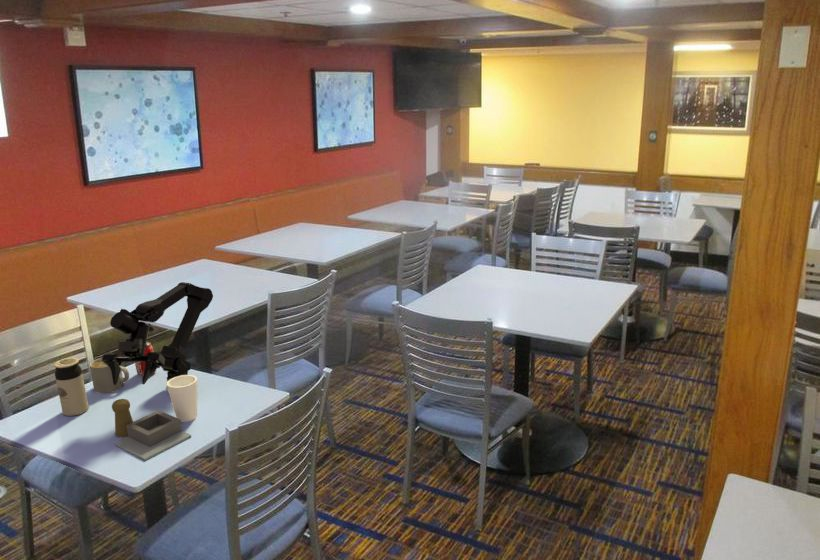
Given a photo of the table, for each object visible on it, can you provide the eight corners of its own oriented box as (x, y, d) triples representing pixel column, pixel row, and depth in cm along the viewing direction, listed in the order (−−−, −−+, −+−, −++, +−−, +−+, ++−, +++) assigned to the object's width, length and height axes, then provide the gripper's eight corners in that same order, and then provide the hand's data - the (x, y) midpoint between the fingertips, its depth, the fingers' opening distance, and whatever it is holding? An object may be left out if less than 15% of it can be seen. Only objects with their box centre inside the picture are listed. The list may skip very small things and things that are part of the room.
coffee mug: (87, 391, 240) (83, 365, 237) (108, 379, 249) (104, 355, 246) (116, 396, 236) (112, 370, 233) (137, 384, 244) (133, 359, 241)
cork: (123, 439, 207) (117, 407, 203) (111, 434, 210) (105, 402, 207) (139, 430, 212) (134, 399, 208) (127, 425, 215) (122, 394, 211)
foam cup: (207, 416, 219) (202, 380, 215) (181, 427, 212) (176, 390, 209) (192, 407, 225) (187, 372, 221) (166, 418, 219) (161, 381, 215)
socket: (160, 423, 216) (158, 410, 214) (191, 436, 207) (189, 423, 205) (114, 445, 203) (112, 431, 202) (145, 460, 194) (143, 446, 193)
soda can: (133, 375, 252) (128, 346, 248) (147, 368, 258) (143, 339, 254) (146, 379, 248) (141, 349, 245) (161, 371, 254) (156, 342, 251)
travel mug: (82, 403, 231) (72, 355, 226) (93, 409, 226) (83, 360, 221) (58, 412, 225) (48, 363, 220) (69, 419, 220) (59, 369, 215)
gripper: (99, 330, 214) (88, 376, 207) (156, 328, 214) (148, 375, 207) (113, 343, 224) (104, 388, 217) (168, 342, 224) (161, 386, 216)
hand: (128, 384), depth 214 cm, fingers open, 9 cm apart
